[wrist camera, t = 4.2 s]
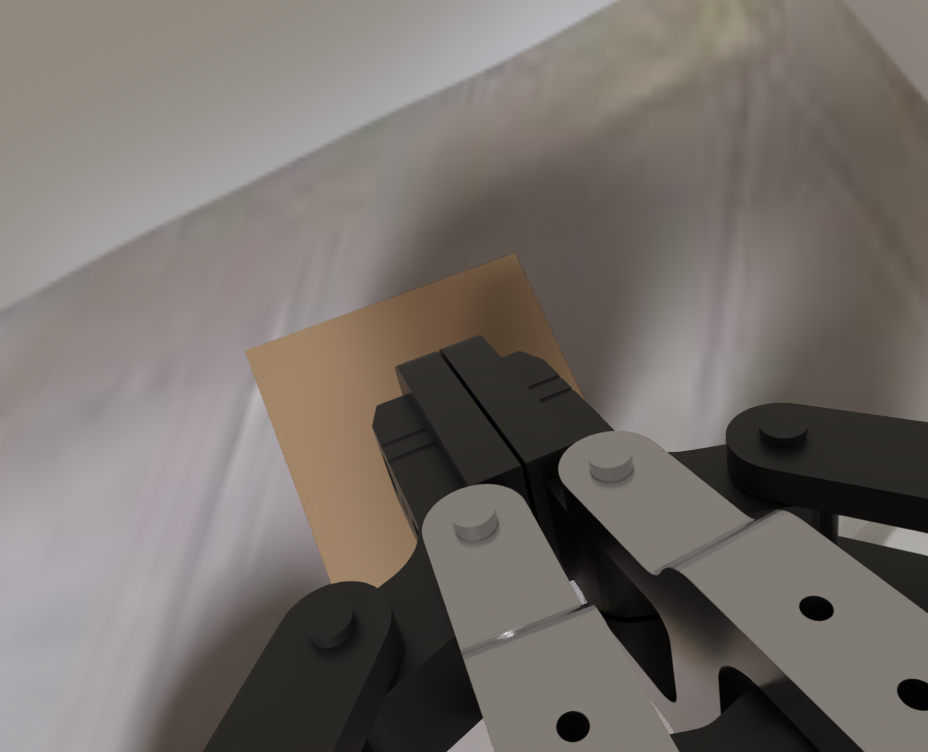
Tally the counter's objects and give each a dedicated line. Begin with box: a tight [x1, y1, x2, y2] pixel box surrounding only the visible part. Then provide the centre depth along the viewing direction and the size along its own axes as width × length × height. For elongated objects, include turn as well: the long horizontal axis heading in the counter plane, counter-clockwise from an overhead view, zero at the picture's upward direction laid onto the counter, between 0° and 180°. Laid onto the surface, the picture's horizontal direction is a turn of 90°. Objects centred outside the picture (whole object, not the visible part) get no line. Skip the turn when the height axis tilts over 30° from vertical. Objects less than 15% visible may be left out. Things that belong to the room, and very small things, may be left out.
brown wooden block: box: [245, 253, 584, 588], centre depth 20 cm, size 6×6×9 cm
